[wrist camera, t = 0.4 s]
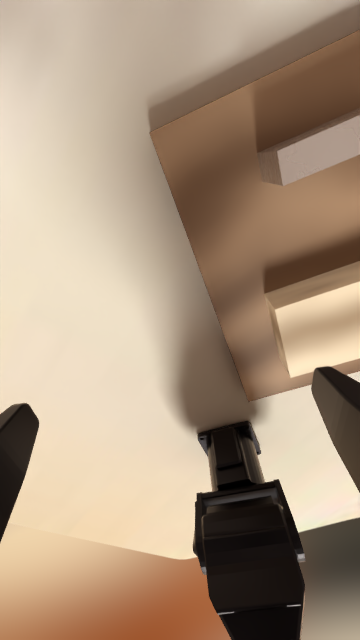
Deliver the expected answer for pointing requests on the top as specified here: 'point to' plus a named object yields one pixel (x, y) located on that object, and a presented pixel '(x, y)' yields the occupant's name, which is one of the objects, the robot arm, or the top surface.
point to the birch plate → (317, 320)
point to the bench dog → (312, 150)
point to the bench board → (265, 201)
